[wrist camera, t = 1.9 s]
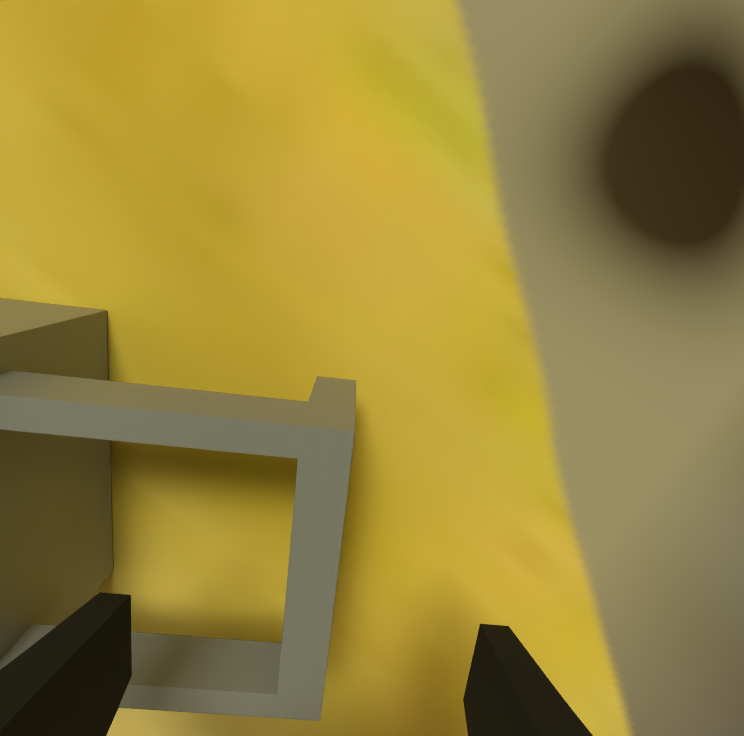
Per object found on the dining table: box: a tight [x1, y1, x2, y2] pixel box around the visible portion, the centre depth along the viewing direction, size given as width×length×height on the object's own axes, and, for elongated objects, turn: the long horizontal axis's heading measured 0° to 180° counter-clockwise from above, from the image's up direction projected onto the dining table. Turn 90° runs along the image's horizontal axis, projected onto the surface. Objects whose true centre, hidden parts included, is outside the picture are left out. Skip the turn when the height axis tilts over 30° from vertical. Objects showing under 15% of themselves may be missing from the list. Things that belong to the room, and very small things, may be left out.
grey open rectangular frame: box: [0, 298, 356, 721], centre depth 13 cm, size 10×19×7 cm, turn 83°
